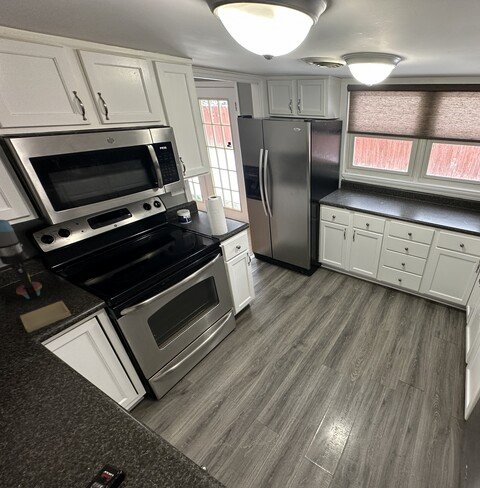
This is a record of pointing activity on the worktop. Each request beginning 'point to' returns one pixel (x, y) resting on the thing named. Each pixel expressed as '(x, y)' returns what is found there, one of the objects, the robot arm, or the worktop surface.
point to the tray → (45, 316)
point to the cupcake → (23, 292)
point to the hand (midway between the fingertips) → (32, 294)
